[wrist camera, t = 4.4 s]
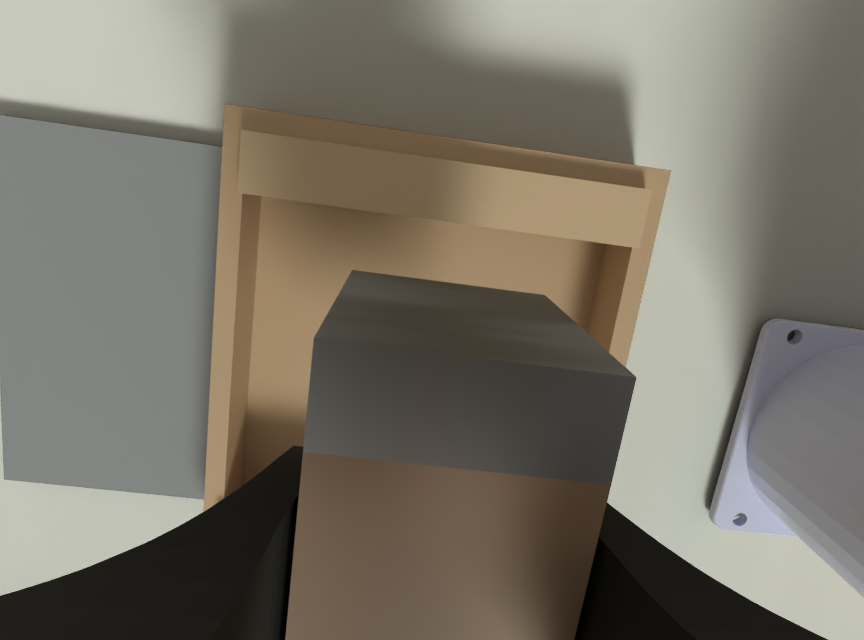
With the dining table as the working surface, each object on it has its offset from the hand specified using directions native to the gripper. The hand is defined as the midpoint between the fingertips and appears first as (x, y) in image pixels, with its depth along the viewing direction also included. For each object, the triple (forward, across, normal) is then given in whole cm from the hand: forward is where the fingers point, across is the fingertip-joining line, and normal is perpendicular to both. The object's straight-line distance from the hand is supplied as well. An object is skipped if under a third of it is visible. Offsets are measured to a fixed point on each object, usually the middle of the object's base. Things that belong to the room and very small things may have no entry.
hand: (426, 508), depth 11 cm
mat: (+9, +10, 0) cm, 14 cm away
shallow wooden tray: (+9, 0, 0) cm, 9 cm away
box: (+2, 0, 0) cm, 2 cm away
